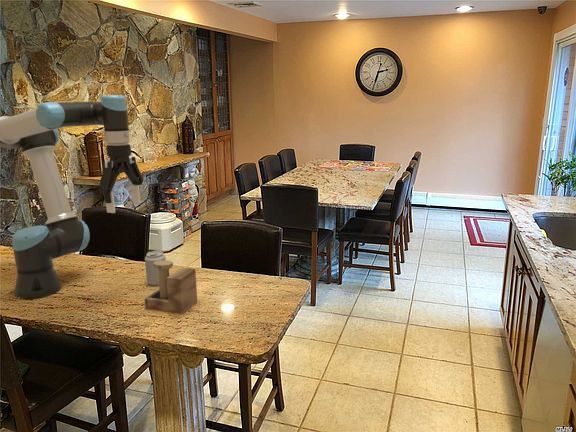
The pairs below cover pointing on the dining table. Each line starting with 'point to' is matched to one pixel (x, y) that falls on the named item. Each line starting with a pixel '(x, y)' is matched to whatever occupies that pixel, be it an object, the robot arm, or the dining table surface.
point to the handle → (163, 276)
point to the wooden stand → (176, 293)
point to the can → (151, 271)
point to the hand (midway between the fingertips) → (124, 208)
